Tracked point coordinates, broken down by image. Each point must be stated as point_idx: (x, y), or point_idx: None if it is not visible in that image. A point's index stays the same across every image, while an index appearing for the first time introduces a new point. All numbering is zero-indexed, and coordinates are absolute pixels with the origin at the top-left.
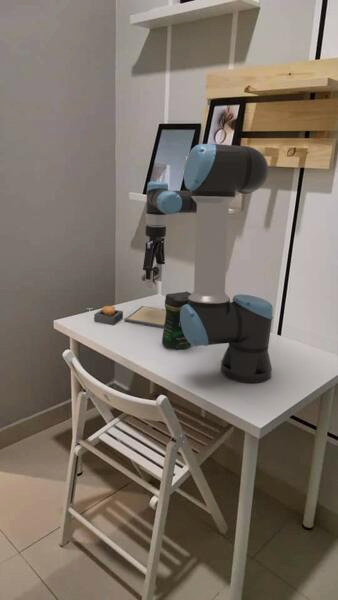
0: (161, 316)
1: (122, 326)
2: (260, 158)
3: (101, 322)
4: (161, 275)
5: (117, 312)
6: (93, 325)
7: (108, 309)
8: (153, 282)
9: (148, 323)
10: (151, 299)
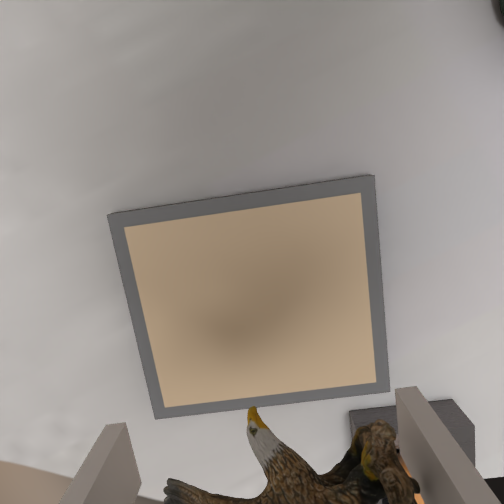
0: (245, 260)
1: (445, 361)
2: None
3: None
4: (92, 474)
5: None
6: (497, 464)
7: None
8: (284, 445)
9: (380, 267)
10: (6, 437)
